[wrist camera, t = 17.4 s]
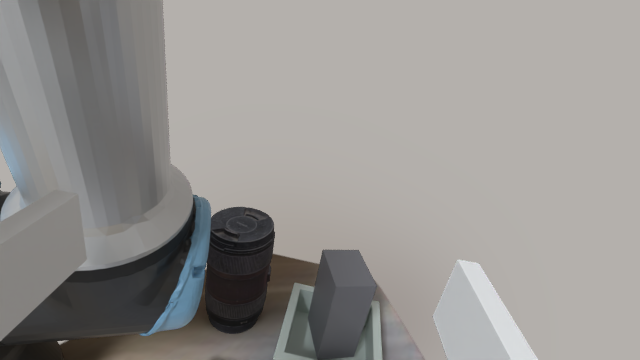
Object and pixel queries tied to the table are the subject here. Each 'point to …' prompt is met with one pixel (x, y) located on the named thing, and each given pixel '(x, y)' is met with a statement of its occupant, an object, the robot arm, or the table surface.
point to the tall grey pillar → (340, 303)
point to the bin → (296, 340)
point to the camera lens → (238, 267)
